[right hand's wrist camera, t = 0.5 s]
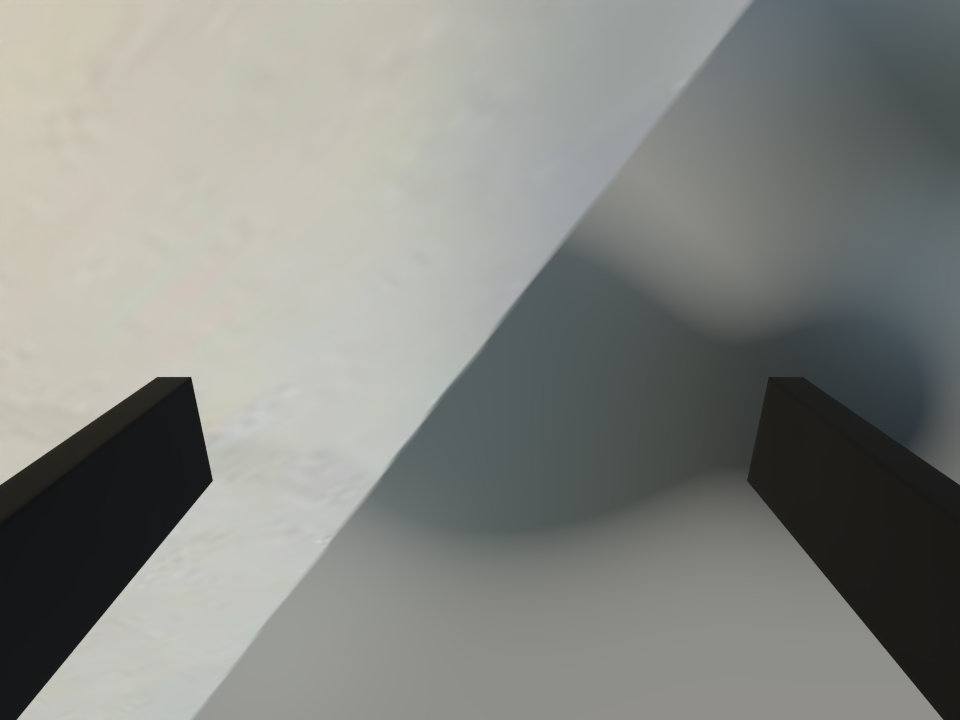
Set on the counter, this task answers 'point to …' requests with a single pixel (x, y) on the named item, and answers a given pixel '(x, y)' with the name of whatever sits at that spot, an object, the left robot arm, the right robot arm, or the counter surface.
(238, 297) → the counter surface
